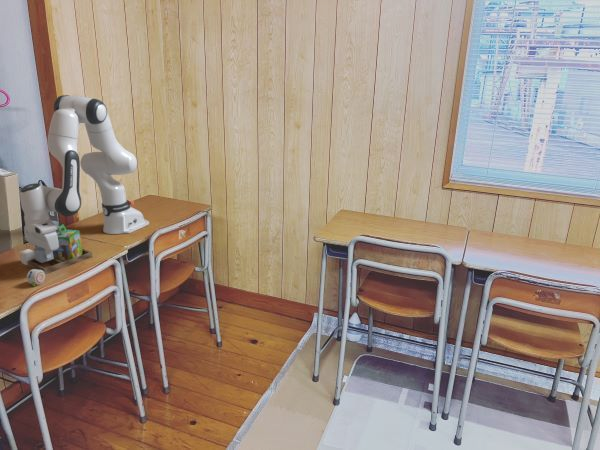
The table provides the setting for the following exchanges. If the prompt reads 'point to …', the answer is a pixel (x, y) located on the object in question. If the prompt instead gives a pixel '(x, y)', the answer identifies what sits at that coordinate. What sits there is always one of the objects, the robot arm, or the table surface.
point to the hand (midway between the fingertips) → (44, 255)
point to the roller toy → (35, 277)
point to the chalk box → (68, 244)
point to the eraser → (26, 256)
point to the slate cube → (42, 255)
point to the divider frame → (59, 262)
